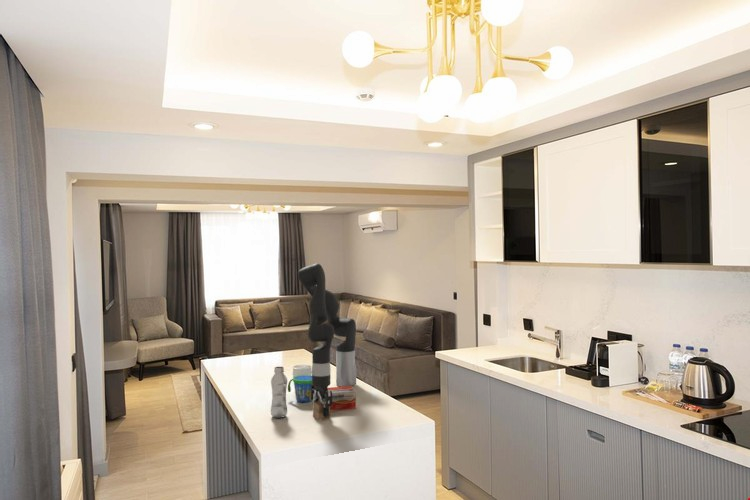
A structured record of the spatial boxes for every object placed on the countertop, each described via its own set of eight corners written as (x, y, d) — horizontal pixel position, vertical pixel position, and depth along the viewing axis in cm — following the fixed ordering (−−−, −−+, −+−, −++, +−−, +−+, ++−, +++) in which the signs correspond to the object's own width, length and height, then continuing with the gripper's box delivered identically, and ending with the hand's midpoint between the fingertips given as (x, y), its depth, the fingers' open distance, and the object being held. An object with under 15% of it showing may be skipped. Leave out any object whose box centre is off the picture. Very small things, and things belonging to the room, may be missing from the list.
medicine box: (321, 412, 213) (321, 393, 213) (317, 406, 221) (317, 388, 221) (356, 409, 217) (356, 390, 217) (352, 403, 225) (351, 385, 225)
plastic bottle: (271, 414, 210) (271, 365, 210) (288, 414, 210) (288, 365, 210) (269, 419, 203) (269, 369, 203) (286, 419, 204) (286, 369, 204)
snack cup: (325, 398, 232) (325, 376, 233) (316, 405, 222) (316, 381, 222) (294, 395, 237) (294, 373, 237) (283, 402, 227) (283, 379, 227)
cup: (308, 395, 238) (308, 369, 238) (289, 394, 240) (289, 368, 240) (314, 390, 247) (314, 365, 247) (296, 389, 249) (296, 364, 249)
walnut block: (323, 414, 210) (323, 400, 210) (329, 417, 206) (329, 402, 206) (313, 416, 207) (312, 402, 207) (318, 420, 203) (318, 405, 203)
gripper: (338, 375, 203) (338, 416, 202) (321, 368, 214) (321, 407, 214) (321, 378, 198) (321, 420, 198) (304, 371, 210) (304, 410, 210)
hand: (321, 413), depth 206 cm, fingers open, 8 cm apart
